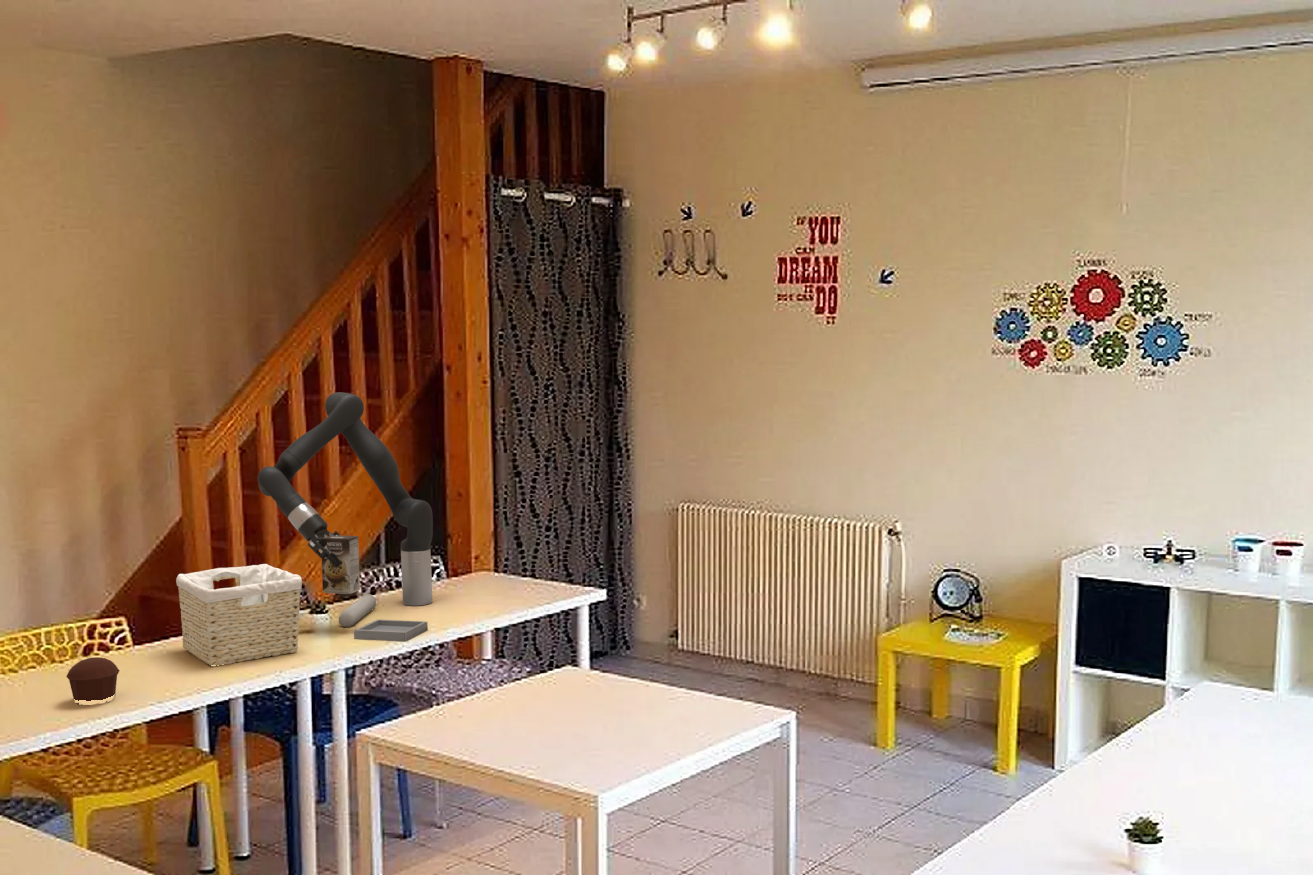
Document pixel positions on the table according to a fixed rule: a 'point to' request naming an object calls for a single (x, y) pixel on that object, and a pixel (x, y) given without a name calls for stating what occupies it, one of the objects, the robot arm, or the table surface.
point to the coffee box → (341, 565)
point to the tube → (357, 610)
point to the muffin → (93, 679)
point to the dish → (390, 630)
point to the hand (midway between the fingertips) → (345, 563)
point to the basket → (240, 613)
